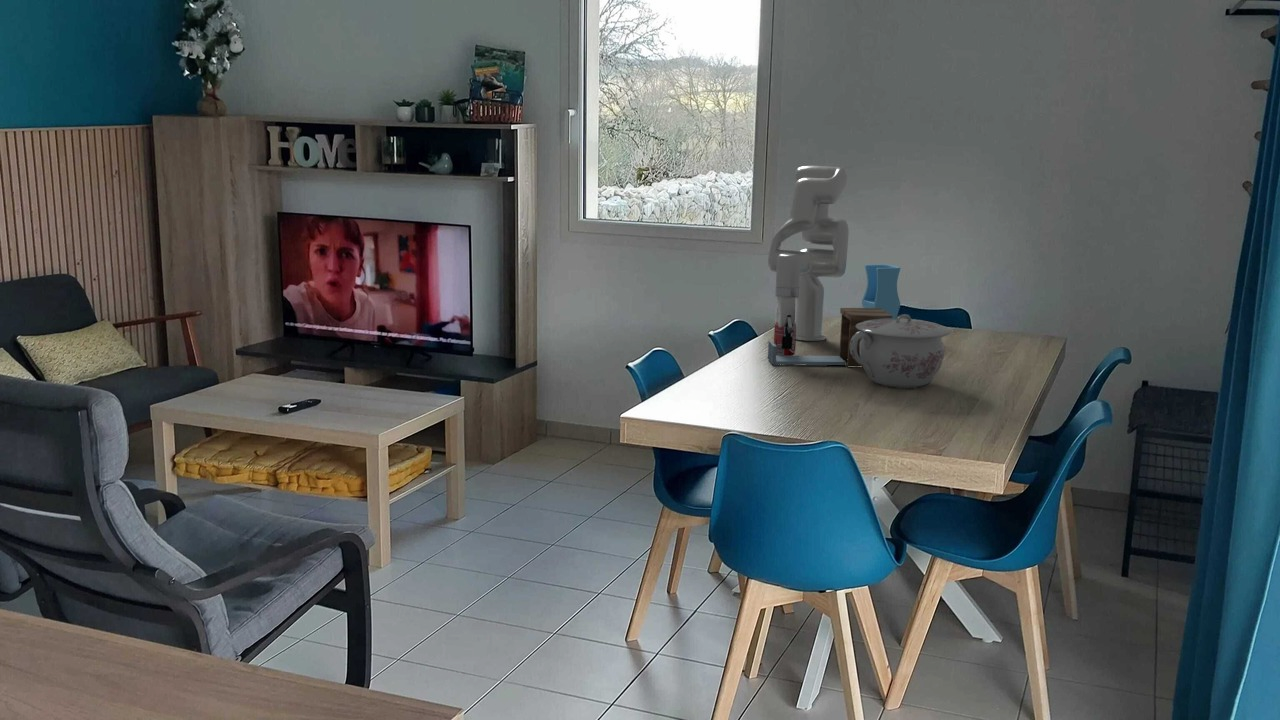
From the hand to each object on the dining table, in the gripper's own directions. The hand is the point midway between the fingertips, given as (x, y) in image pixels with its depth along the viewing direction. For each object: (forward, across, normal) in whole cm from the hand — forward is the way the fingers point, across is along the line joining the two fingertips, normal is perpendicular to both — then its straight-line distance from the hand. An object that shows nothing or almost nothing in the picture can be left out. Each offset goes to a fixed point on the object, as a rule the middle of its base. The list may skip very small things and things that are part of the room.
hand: (784, 345), depth 372 cm
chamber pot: (+4, +38, +27) cm, 47 cm away
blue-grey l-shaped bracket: (+3, +11, +5) cm, 12 cm away
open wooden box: (+3, +11, +23) cm, 26 cm away
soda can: (+3, 0, 0) cm, 3 cm away
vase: (+3, -36, +41) cm, 55 cm away
